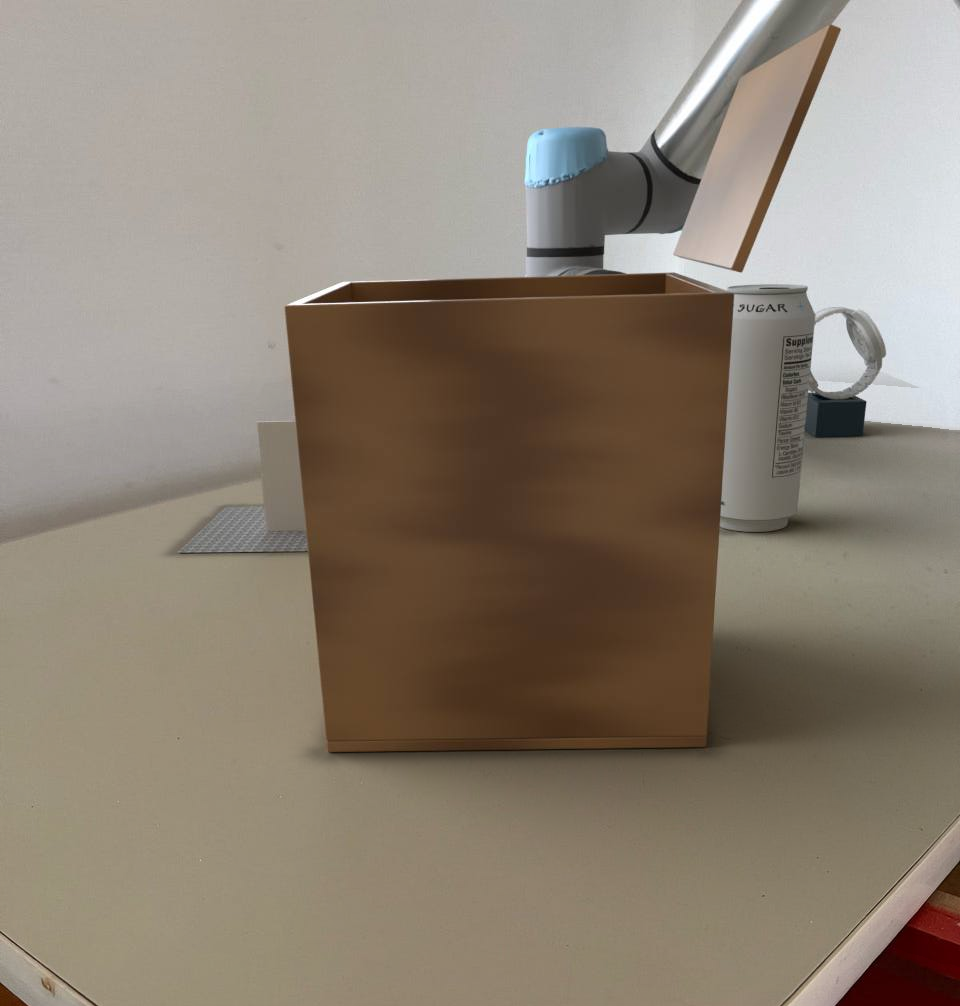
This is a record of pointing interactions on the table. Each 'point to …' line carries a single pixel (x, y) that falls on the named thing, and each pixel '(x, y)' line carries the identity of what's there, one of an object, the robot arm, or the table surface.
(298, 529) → the architectural model
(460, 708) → the carton
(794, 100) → the flap
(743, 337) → the energy drink can
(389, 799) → the table surface
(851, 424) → the watch
